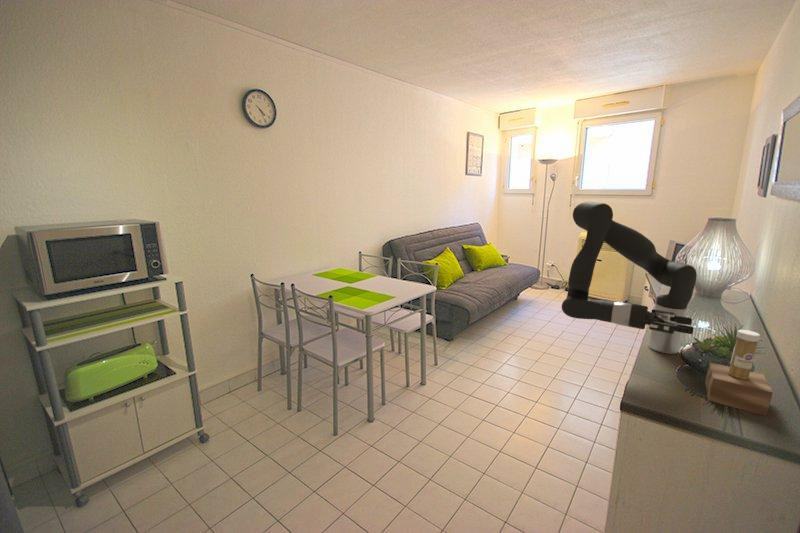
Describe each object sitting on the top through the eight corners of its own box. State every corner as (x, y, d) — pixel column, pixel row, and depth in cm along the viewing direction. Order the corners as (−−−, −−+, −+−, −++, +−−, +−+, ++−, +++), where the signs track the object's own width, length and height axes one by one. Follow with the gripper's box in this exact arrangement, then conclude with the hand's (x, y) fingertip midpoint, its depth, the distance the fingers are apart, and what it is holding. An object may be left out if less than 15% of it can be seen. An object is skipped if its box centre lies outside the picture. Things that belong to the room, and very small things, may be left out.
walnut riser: (705, 382, 113) (709, 362, 111) (757, 396, 106) (763, 374, 104) (708, 400, 103) (713, 378, 102) (766, 416, 96) (772, 392, 95)
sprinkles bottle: (737, 380, 101) (749, 335, 98) (723, 371, 105) (733, 328, 102) (753, 380, 101) (765, 335, 98) (738, 371, 106) (749, 328, 103)
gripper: (628, 310, 111) (696, 321, 102) (632, 298, 122) (693, 307, 113) (625, 332, 113) (691, 346, 104) (629, 319, 124) (689, 330, 115)
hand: (692, 326), depth 108 cm, fingers open, 8 cm apart
